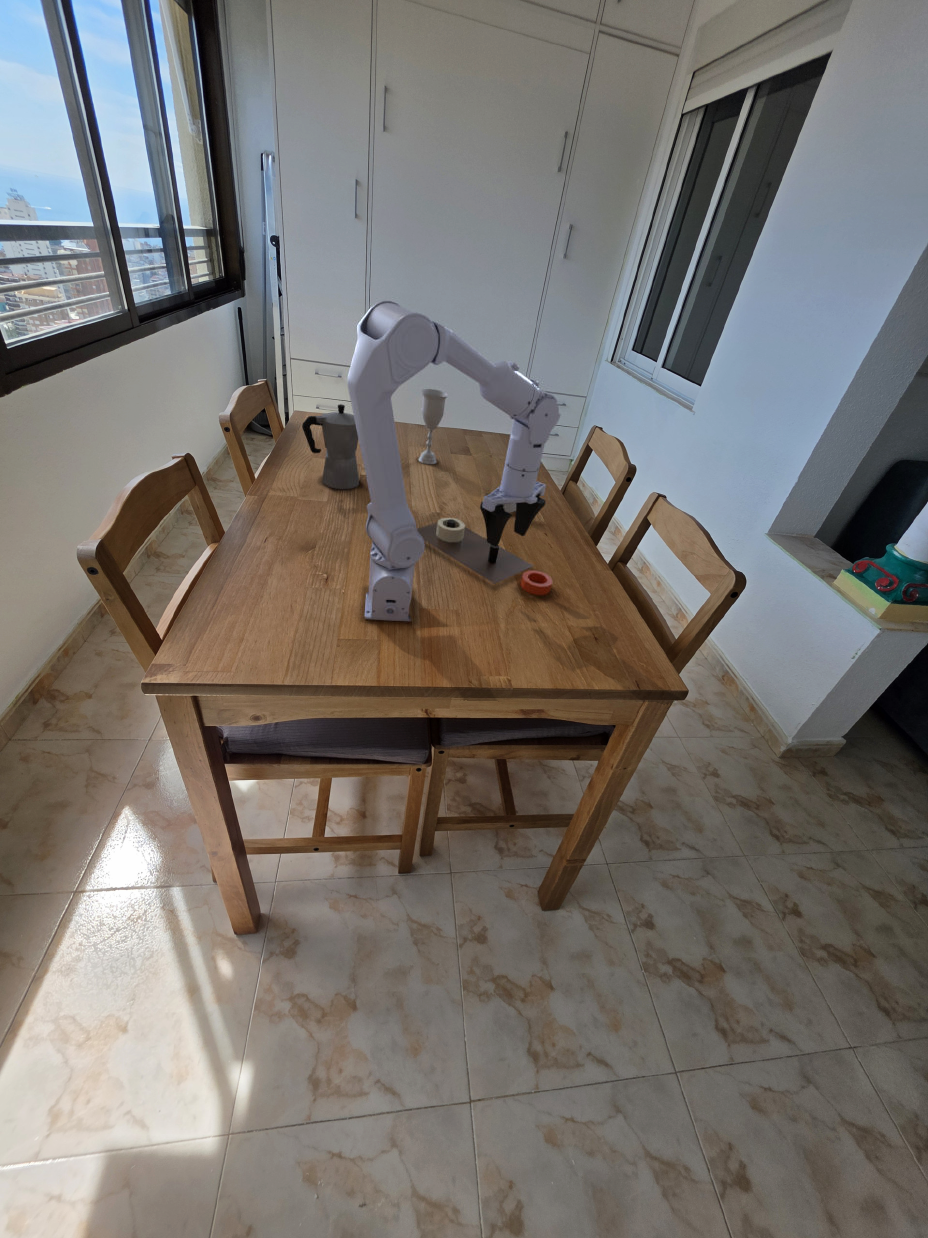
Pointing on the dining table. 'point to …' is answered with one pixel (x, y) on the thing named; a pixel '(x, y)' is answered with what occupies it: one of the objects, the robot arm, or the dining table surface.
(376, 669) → the dining table surface
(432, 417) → the chalice
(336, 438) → the coffeepot
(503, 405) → the robot arm
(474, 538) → the ring board
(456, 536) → the cream ring
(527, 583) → the red ring
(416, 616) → the dining table surface
